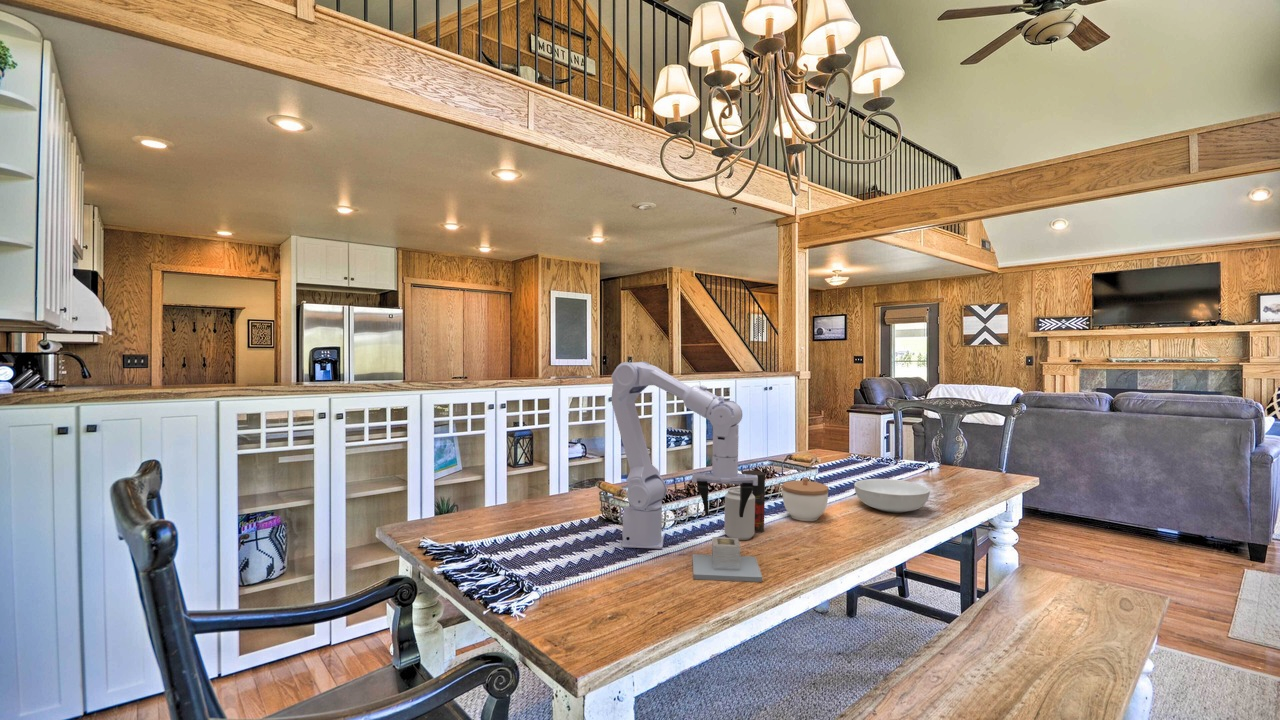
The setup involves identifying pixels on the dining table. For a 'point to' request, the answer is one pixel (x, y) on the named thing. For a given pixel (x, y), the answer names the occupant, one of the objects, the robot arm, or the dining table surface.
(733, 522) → the can
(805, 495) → the lidded bowl
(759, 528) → the deodorant
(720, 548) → the collar
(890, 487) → the serving bowl
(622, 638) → the dining table surface
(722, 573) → the post block
